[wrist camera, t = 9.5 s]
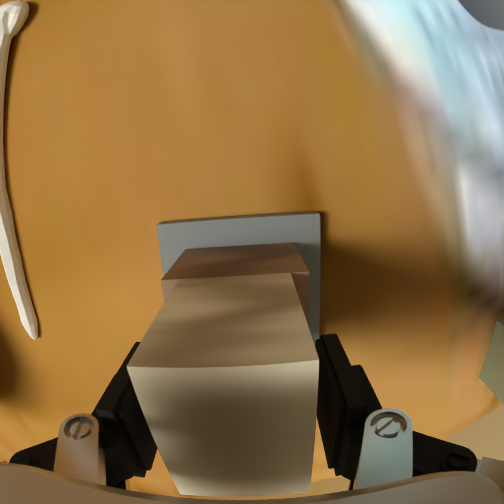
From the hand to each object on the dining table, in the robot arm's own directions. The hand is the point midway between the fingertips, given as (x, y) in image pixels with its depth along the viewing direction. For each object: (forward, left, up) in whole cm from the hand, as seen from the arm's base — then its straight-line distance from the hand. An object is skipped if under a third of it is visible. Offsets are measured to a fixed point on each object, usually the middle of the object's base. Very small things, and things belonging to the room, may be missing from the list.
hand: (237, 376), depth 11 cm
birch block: (0, 0, -3) cm, 3 cm away
